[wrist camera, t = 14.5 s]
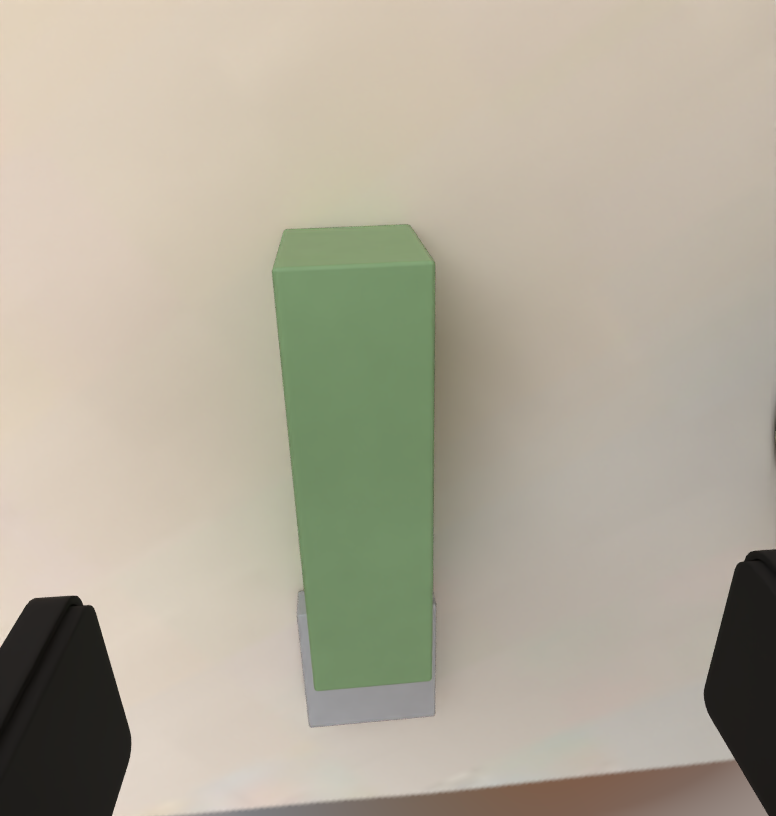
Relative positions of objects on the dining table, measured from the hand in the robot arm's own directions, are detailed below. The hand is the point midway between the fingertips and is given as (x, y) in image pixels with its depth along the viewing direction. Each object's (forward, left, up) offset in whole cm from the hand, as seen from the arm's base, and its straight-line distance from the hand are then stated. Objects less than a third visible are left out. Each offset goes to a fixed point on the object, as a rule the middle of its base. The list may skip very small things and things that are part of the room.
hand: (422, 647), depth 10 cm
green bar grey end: (+1, +2, -7) cm, 8 cm away
